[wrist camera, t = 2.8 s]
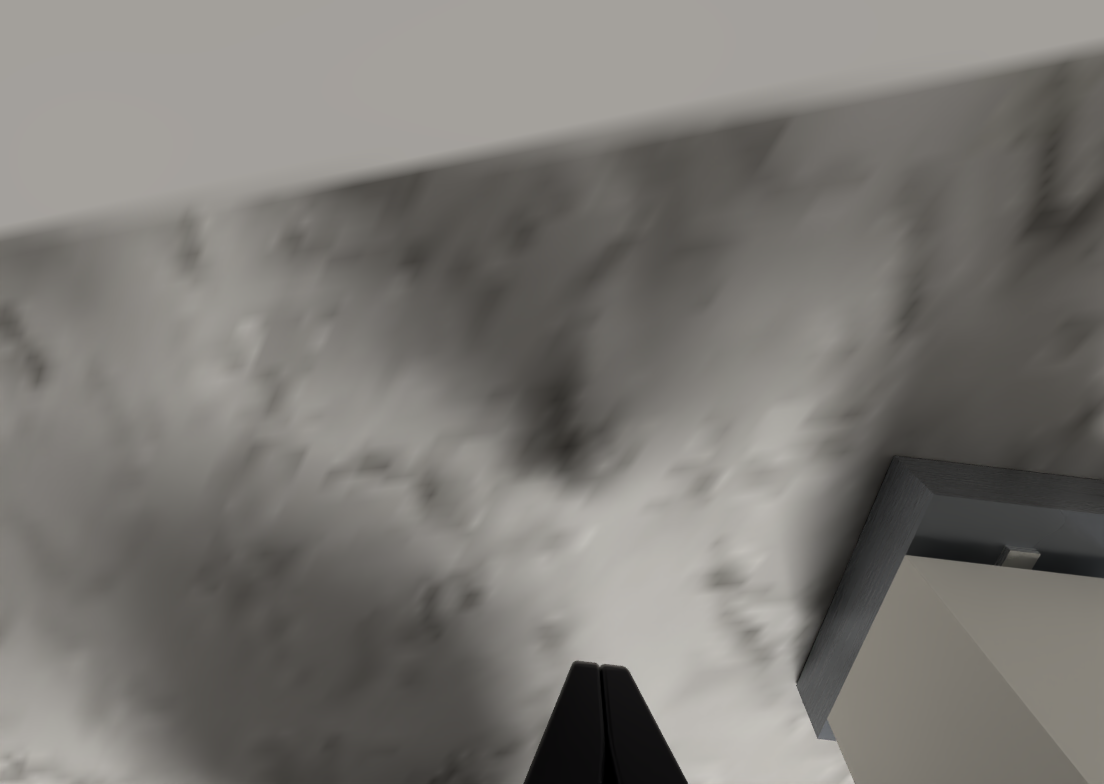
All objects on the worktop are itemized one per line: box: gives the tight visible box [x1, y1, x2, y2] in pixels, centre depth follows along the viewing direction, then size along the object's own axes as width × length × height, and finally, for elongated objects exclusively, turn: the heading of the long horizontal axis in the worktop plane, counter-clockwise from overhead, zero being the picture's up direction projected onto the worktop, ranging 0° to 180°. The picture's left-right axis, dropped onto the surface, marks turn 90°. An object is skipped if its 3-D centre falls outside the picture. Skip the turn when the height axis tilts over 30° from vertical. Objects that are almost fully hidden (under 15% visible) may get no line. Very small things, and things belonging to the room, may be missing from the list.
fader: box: [827, 555, 1104, 784], centre depth 8 cm, size 4×4×4 cm
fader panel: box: [796, 456, 1104, 741], centre depth 10 cm, size 8×6×1 cm
